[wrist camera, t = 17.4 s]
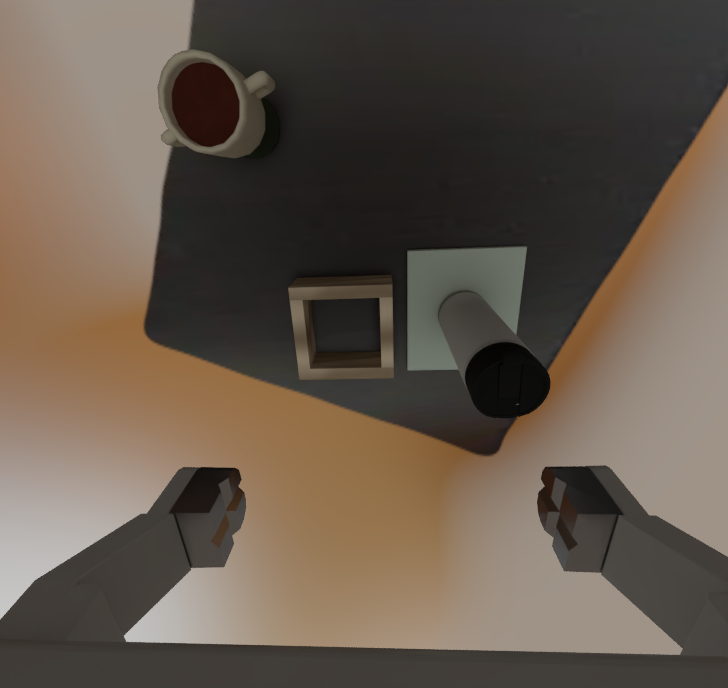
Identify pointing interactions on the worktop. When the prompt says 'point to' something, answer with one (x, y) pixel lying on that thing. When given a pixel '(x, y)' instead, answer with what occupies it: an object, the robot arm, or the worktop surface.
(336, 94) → the worktop surface
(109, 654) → the robot arm
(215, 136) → the character mug
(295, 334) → the birch holder
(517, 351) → the travel mug
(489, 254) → the sage mat
